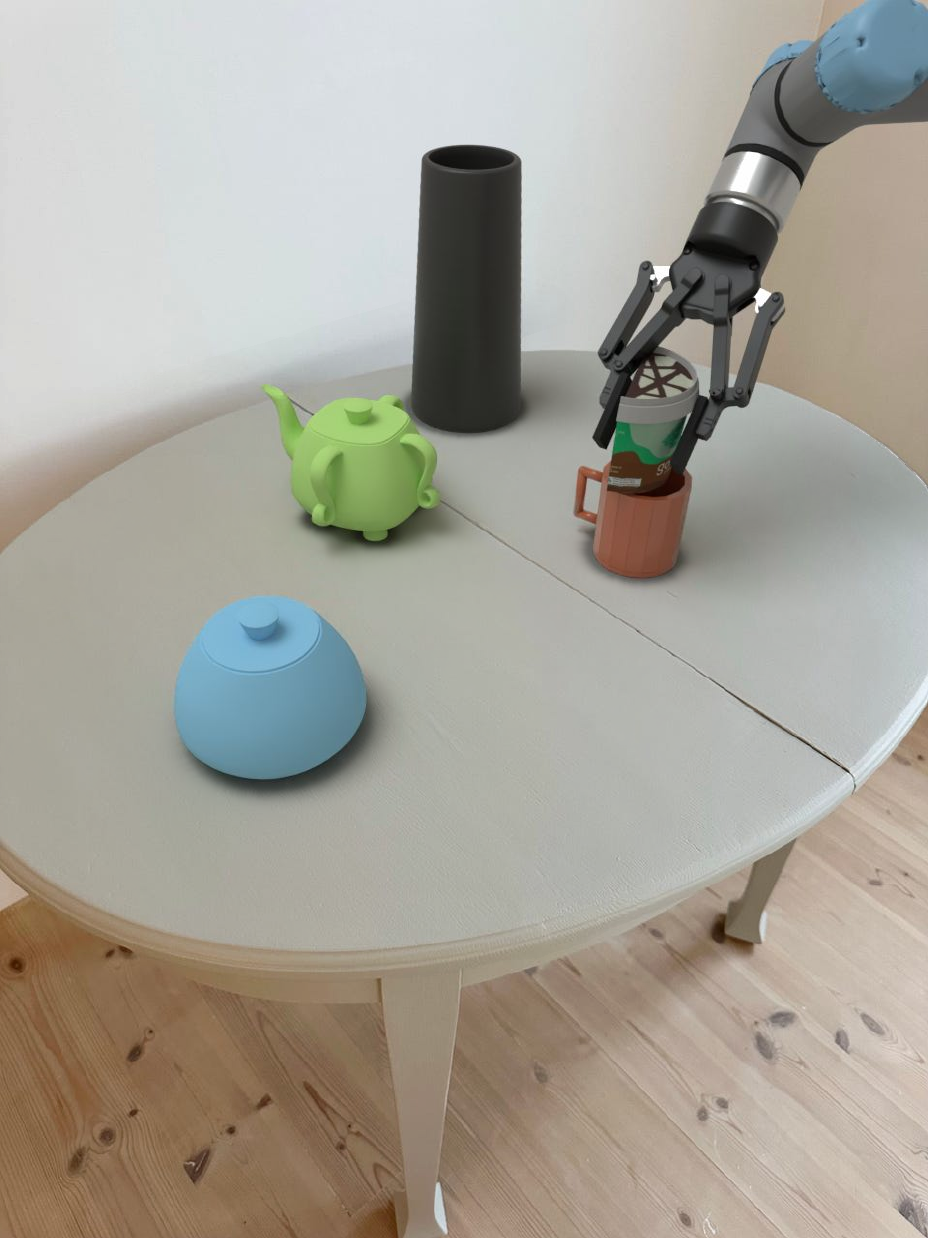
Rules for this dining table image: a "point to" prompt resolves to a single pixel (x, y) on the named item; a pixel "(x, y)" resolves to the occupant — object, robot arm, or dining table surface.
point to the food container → (652, 421)
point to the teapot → (358, 463)
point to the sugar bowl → (268, 690)
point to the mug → (636, 523)
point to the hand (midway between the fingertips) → (637, 455)
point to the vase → (468, 289)
